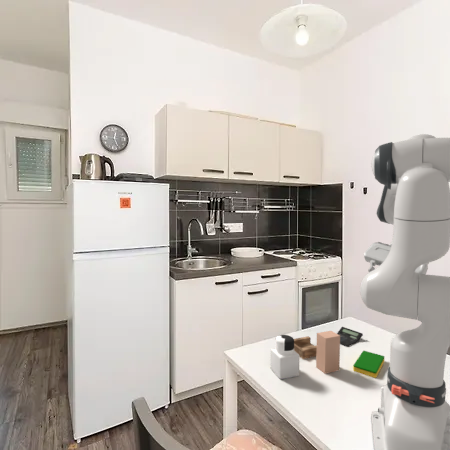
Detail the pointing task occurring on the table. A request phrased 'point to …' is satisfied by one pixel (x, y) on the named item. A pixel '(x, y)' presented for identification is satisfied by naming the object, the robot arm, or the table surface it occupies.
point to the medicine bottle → (284, 358)
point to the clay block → (328, 352)
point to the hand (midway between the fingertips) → (383, 276)
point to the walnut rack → (304, 347)
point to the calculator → (348, 336)
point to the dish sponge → (369, 364)
